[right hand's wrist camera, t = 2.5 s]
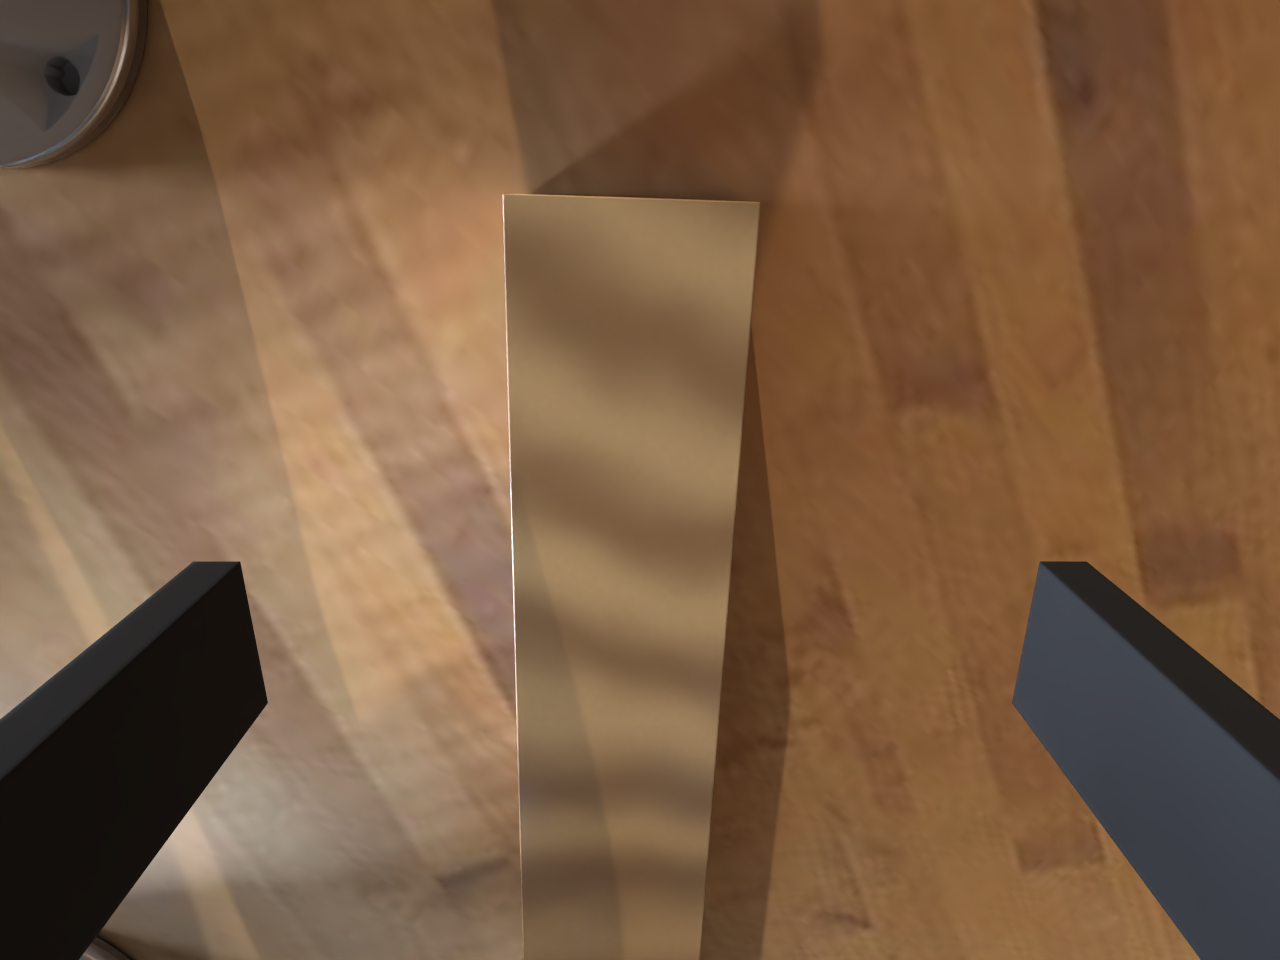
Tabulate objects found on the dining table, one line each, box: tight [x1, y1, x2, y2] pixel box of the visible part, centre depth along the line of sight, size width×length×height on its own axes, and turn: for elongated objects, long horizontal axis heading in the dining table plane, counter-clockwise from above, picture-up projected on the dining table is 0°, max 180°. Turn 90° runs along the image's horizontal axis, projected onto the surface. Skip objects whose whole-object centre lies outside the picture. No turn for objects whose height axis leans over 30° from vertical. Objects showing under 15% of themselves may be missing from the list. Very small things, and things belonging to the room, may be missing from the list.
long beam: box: [502, 193, 761, 960], centre depth 45 cm, size 81×9×7 cm, turn 178°
